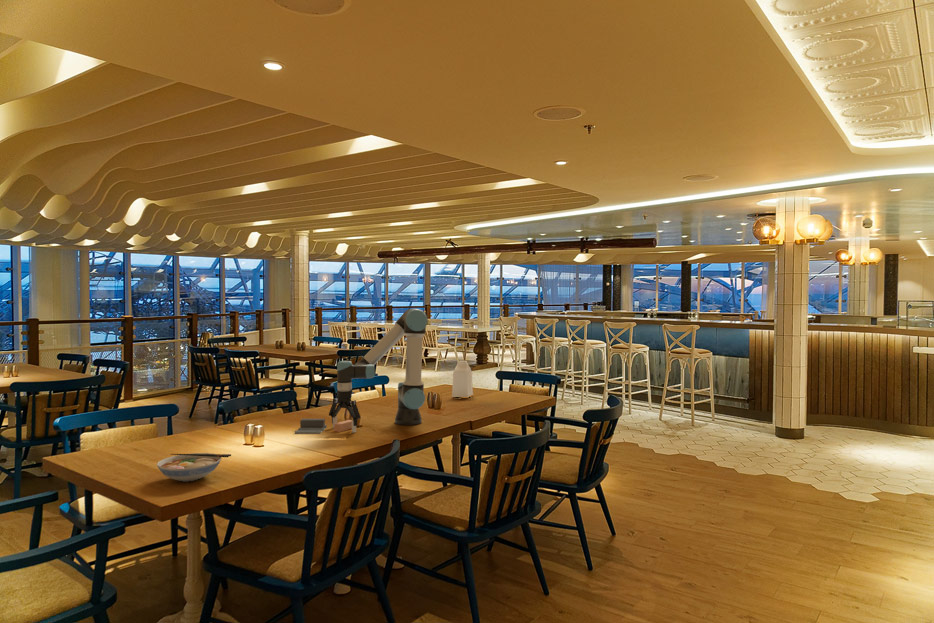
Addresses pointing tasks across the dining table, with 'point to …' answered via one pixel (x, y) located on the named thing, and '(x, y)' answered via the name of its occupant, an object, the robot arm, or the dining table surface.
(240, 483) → the dining table surface
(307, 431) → the slot board
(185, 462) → the ramen bowl
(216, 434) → the dining table surface
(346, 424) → the terracotta bar
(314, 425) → the charcoal bar
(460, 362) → the milk
